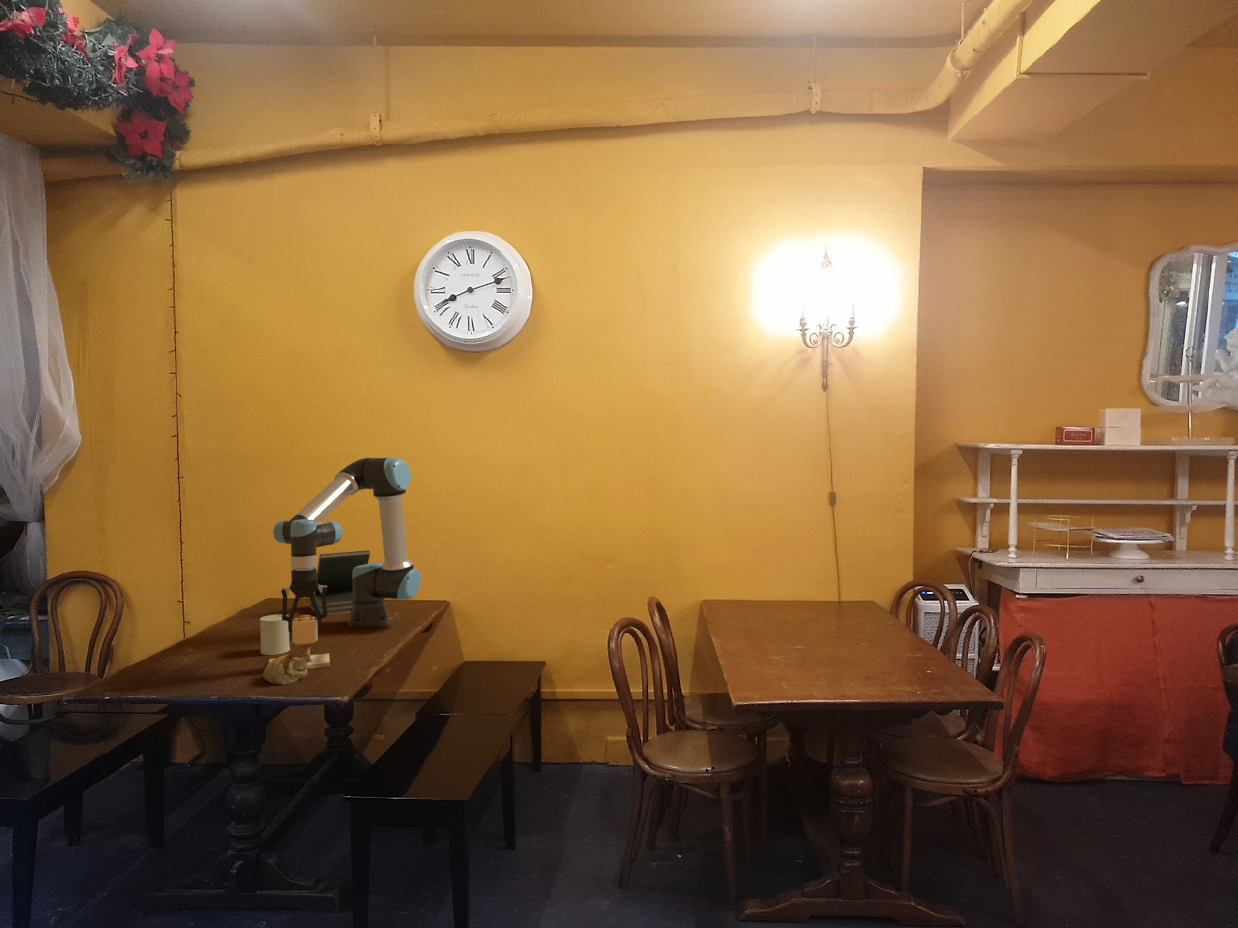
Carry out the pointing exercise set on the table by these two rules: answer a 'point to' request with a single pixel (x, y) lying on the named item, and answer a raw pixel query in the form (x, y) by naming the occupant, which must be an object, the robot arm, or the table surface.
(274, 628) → the can
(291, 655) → the pastry
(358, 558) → the dark boxy piece
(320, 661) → the flat beige board
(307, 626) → the cube with dome bump
